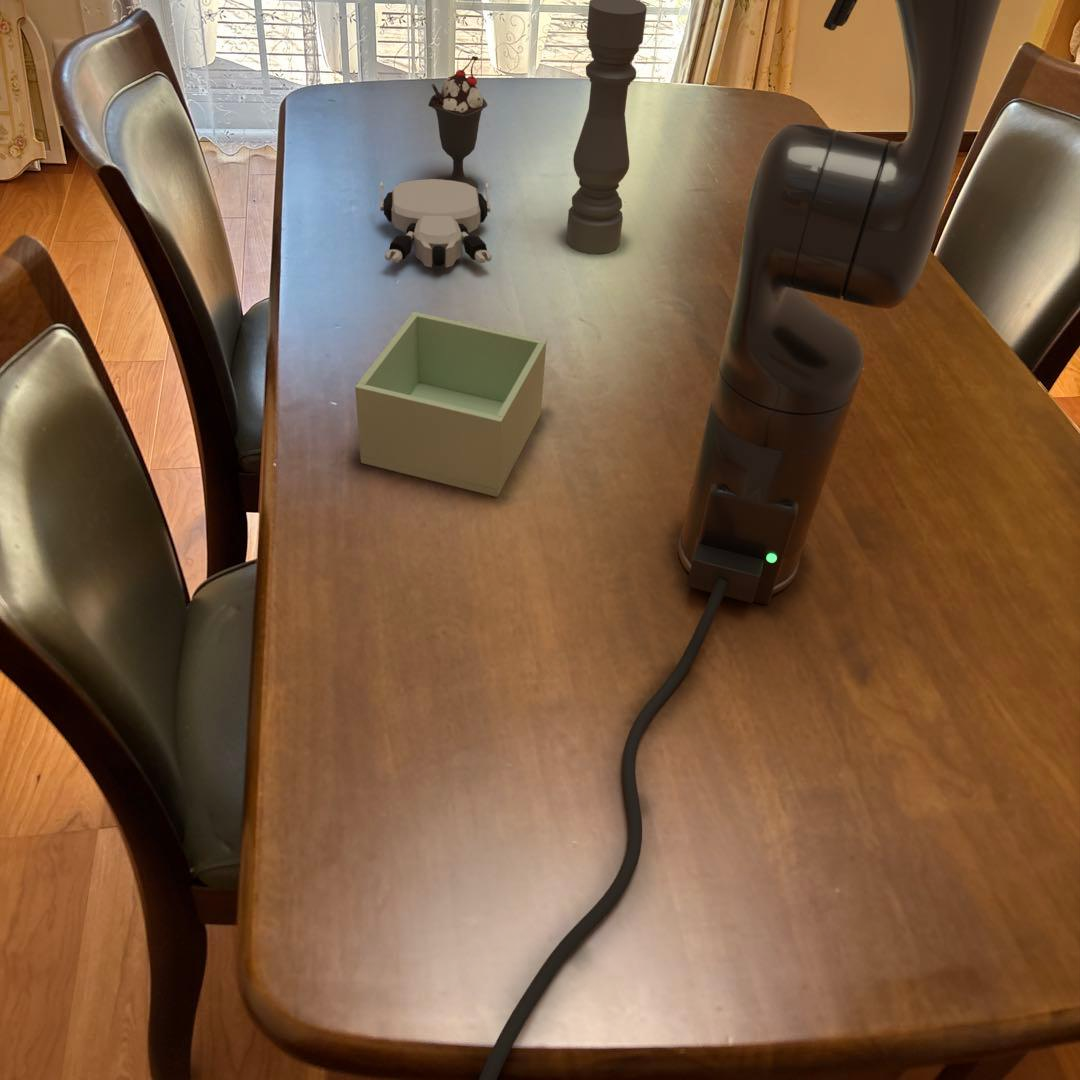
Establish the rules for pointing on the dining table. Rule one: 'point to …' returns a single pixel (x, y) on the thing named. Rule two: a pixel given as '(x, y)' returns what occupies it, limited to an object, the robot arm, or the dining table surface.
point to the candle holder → (605, 125)
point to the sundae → (458, 119)
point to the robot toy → (436, 221)
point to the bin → (451, 402)
